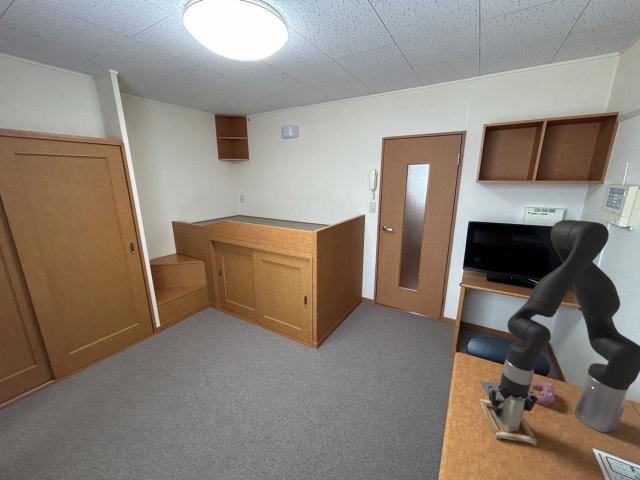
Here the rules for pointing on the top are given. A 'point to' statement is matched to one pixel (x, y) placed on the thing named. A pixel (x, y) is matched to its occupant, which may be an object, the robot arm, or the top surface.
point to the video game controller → (544, 392)
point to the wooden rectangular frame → (499, 434)
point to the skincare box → (511, 414)
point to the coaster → (486, 386)
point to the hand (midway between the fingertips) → (506, 416)
